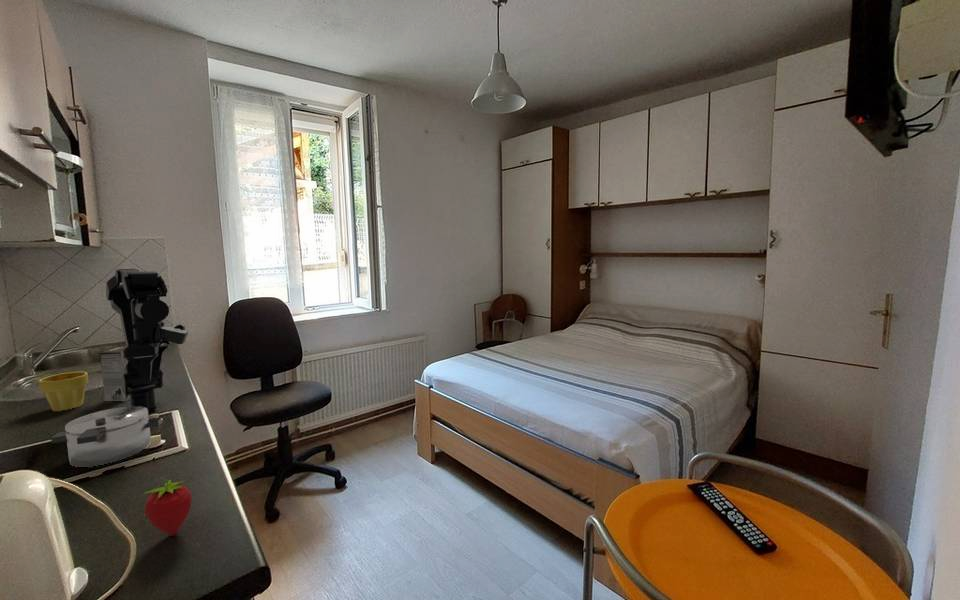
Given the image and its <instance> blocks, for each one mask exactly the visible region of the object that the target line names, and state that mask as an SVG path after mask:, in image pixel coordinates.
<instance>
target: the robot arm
mask: <svg viewBox="0 0 960 600" xmlns="http://www.w3.org/2000/svg"><path fill="white" fill-rule="evenodd" d="M105 283H106V285H105V298H106V300H107V301H109V303H110V307H111V309H113V310H114V311H115V312H116V313H117V314H119V316H120V321H121V327H122V333H123V337H124V341H125V346H126V347H127V348H126V349H124V350H123V355H124V358H126V360H127V361H128V363H127V365H126V367H125V369H124V374H122V382H121V387H122V392H123V393H124V394H125V395H128V394H130V400H129V401H130V406H140V407H145V408H147V409H148V413H152V412H153V413H154V412H156V411H157V410H158V409H159V408H160V406H161V403H160V402H159V403H157V397H156V396H157V395H156V389H161V388H162V387H164V385H163V383H164V382H163V379H164V372H163V371H162V370H161V367H162V362H163V358H164V357H163V356H164V352H165V351H166V350H167V349H168V348H170V346H171V344H172V343H175V344H176V345H183V344H184V343H185V342H186V339H187V337H188V334H189V331H188V329H186V327H185V325H183V324H179V323H177V325H175V326H174V327H173V326H165V322H164V320H165V319H166V318H167V317H168V316H169V312H170V308H169V305H168V304H167V303H166V302H165V301H163V300H161V299H160V298H163V297H164V298H165V297H167V294H168V288H167V285H166V282H165V280H164V279H163V278H162V275H161V274H159V272H157V271H155V270H153V271H152V270H149V271H147V270H146V271H145V270H144V271H140V270H139V269H136V268H118V269H115V271H114V275H113V276H112V277H111V278H110V279H108V280H107V281H106V282H105ZM128 387H129V389H128Z"/></svg>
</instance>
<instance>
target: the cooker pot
mask: <svg viewBox="0 0 960 600" xmlns="http://www.w3.org/2000/svg"><path fill="white" fill-rule="evenodd" d="M149 417H150V415H148V416H147V417H146V418H144V419H143V420H141V421H139V422H137V423H134V424H132V425H129V426H126V427H123V428H119V429H115V430H111V431H107V432H106V433H105V434H104V435H103V436H102V437H101V438H100V439H99V440H98V441H95V442H89V443H83V444H77V438H78V437H79V436H80V435H70V434H67V433H66V432H65V431H60V432H57V433H55V434H54V435H53V436H52V437H51V438H50V440H51V444H56V443H61V442H62V443H63V442H66V447H67V453H68V461H69V465H70V466H71V465H72V466H71V467H73V466H75V467H74V468H77V467H88V468H94V467H93V466H96V467H99V466H98V465H102V466H105V465H104V464H107V463H111V464H113V463H112V462H115V461H118V460H122V459H125V458H127V457H130V456H132V455H134V454H137V453H139V452H140V451H142V450H143V449H145V448H146V447H147V445H148V444H149V442H150V440H151V441H152V436H151V435H152V434H151V429H150V428H154V427H155V428H156V427H160V426H161V424H162V422H163V419H162V416H160V417H159V416H158V417H151V418H149ZM139 454H140V453H139ZM137 455H138V454H137ZM130 458H131V457H130ZM127 459H128V458H127ZM125 460H126V459H125ZM122 461H123V460H122ZM118 462H119V461H118ZM115 463H116V462H115ZM107 465H108V464H107Z"/></svg>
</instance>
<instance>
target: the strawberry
mask: <svg viewBox="0 0 960 600" xmlns="http://www.w3.org/2000/svg"><path fill="white" fill-rule="evenodd" d="M158 478H160V479H162V480H164V481H166V482H165V483H164V484H163V486H162V487H156V488H152V489H151V490H148V491H146V492H143V495H146V494H151V495H150V496H149V497H148V499H147V500H146V502H145V506H144V514H145V515H146V518H147V520H148V521H149V523H150V524H151V525H152V526H154V528H155V529H158V530H159V531H161V532H163V533H165V534H167V535H168V536H171V537H174V536H176V535H177V534H178V532H179V531H180V529H181V527H182V525H183V524H184V523H185V520H186V519H187V517H188V516H189V513H190V511H191V507H192V502H193V501H192V500H193V496H192V493H191V491H190V489H189V488H188V487H186V486H185V485H182V483H185V482H186V481H187V480H183V481H182V480H181V481H177V482H171V481H172V480H171V479H166V478H163V477H161V476H160V477H158Z"/></svg>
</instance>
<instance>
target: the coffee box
mask: <svg viewBox="0 0 960 600" xmlns="http://www.w3.org/2000/svg"><path fill="white" fill-rule="evenodd" d="M126 348H127V347H126V345H123V346H118V347H113V348H111V349H107V350H104V351H101V352H99V360H100V369H101V376H102V385H103V393H104V402H105V401H122V402H128V401H131V400H130V394H128V395H125V394H124V393H123V392H122V387H121V382H122V374H124V369H125V367H126V365H127V363H128V361H127V360H126V358H124V355H123V350H124V349H126ZM128 389H129V387H128Z"/></svg>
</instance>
